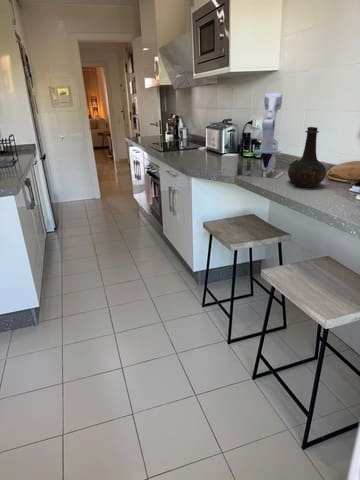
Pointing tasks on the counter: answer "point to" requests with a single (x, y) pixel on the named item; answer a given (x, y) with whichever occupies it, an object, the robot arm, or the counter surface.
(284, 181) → the counter surface
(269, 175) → the panel
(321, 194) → the counter surface
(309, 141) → the glass bottle
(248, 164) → the post right
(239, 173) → the post left
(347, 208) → the counter surface
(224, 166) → the supplement box
